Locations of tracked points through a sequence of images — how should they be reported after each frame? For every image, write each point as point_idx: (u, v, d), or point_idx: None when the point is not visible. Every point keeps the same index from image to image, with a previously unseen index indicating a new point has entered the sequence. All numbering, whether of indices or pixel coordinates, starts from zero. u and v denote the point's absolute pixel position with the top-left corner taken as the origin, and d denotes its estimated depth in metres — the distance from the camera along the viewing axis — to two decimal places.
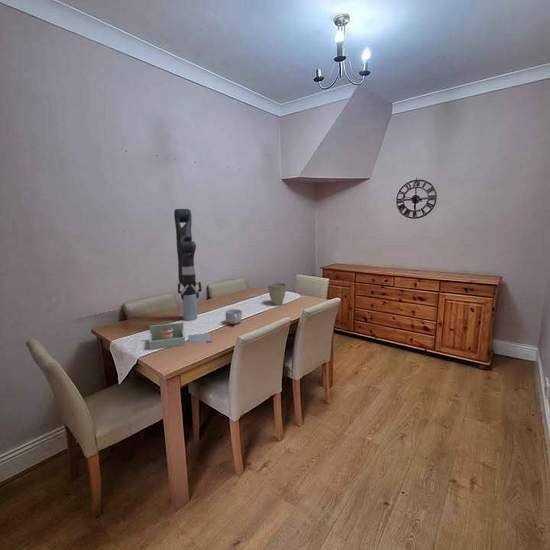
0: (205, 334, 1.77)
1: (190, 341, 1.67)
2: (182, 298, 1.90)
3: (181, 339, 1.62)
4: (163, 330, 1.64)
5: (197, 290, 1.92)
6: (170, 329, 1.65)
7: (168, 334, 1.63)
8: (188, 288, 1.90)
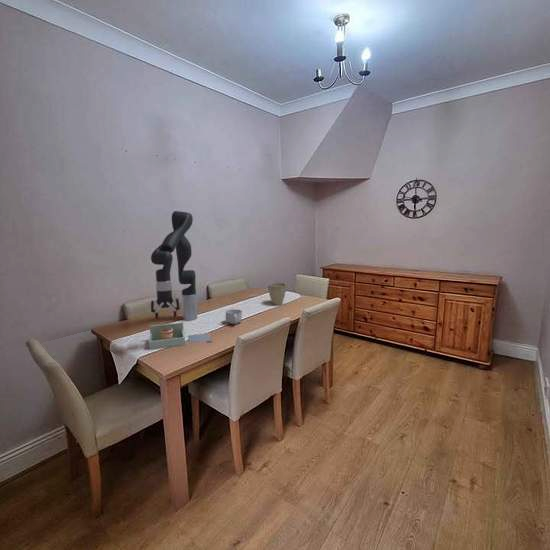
0: (205, 334, 1.77)
1: (190, 341, 1.67)
2: (156, 318, 1.61)
3: (181, 339, 1.62)
4: (163, 330, 1.64)
5: (174, 308, 1.63)
6: (170, 329, 1.65)
7: (168, 334, 1.63)
8: (163, 306, 1.61)
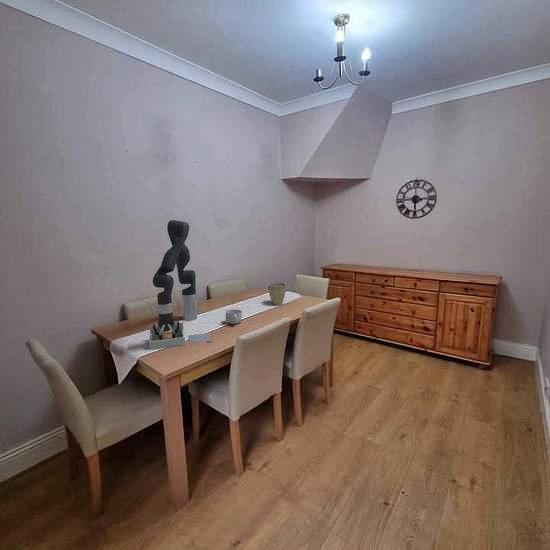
0: (205, 334, 1.77)
1: (190, 341, 1.67)
2: None
3: (181, 339, 1.62)
4: (163, 330, 1.64)
5: (174, 331, 1.65)
6: None
7: (168, 334, 1.63)
8: (166, 328, 1.64)
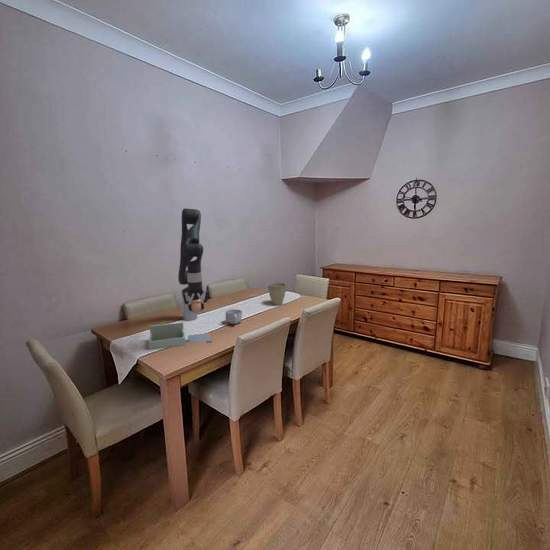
0: (205, 334, 1.77)
1: (190, 341, 1.67)
2: (189, 309, 1.67)
3: (181, 339, 1.62)
4: None
5: (202, 301, 1.68)
6: None
7: (197, 303, 1.65)
8: (195, 297, 1.66)
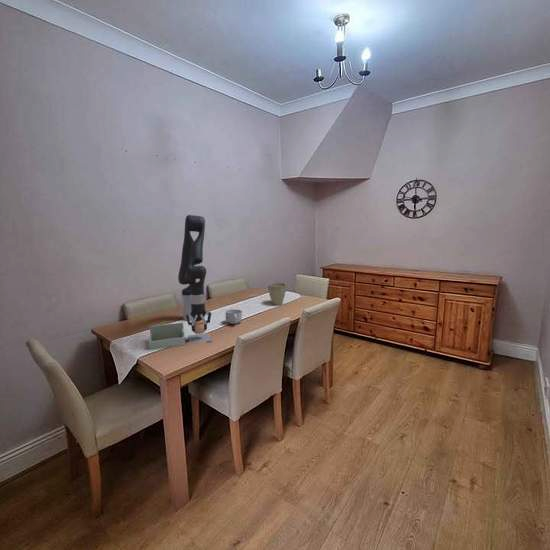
0: (205, 334, 1.77)
1: (190, 341, 1.67)
2: (193, 330, 1.69)
3: (181, 339, 1.62)
4: None
5: (205, 321, 1.70)
6: None
7: (200, 324, 1.68)
8: (198, 318, 1.69)
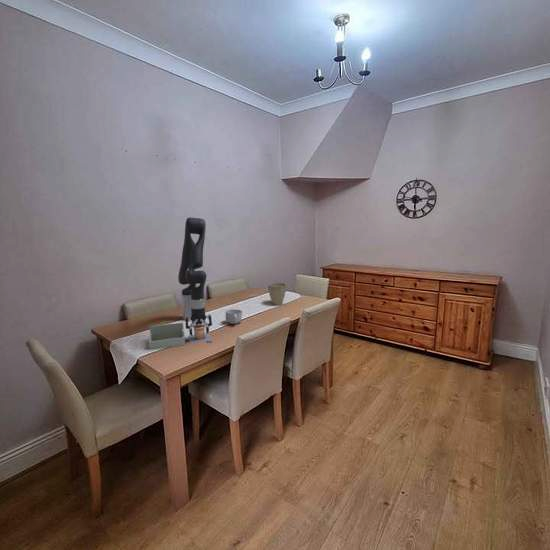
0: (205, 334, 1.77)
1: (190, 341, 1.67)
2: (190, 334, 1.69)
3: (181, 339, 1.62)
4: (196, 326, 1.70)
5: (207, 324, 1.71)
6: (202, 325, 1.71)
7: (201, 330, 1.69)
8: (197, 323, 1.69)
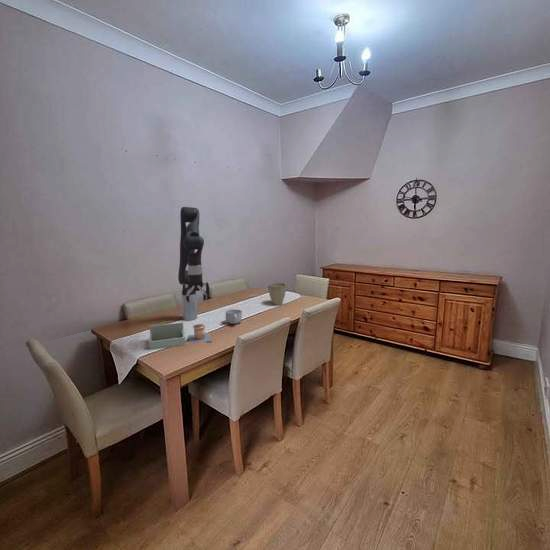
0: (205, 334, 1.77)
1: (190, 341, 1.67)
2: (187, 300, 1.68)
3: (181, 339, 1.62)
4: (195, 326, 1.70)
5: (204, 292, 1.69)
6: (202, 325, 1.71)
7: (201, 330, 1.69)
8: (194, 289, 1.67)
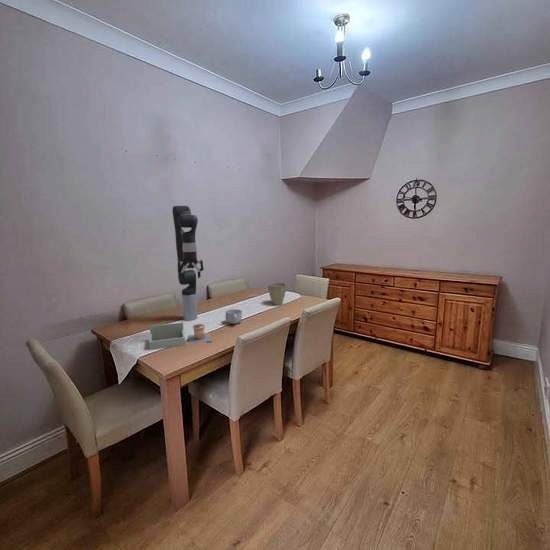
0: (205, 334, 1.77)
1: (190, 341, 1.67)
2: (182, 277, 1.74)
3: (181, 339, 1.62)
4: (195, 326, 1.70)
5: (199, 269, 1.76)
6: (202, 325, 1.71)
7: (200, 330, 1.69)
8: (189, 266, 1.74)
